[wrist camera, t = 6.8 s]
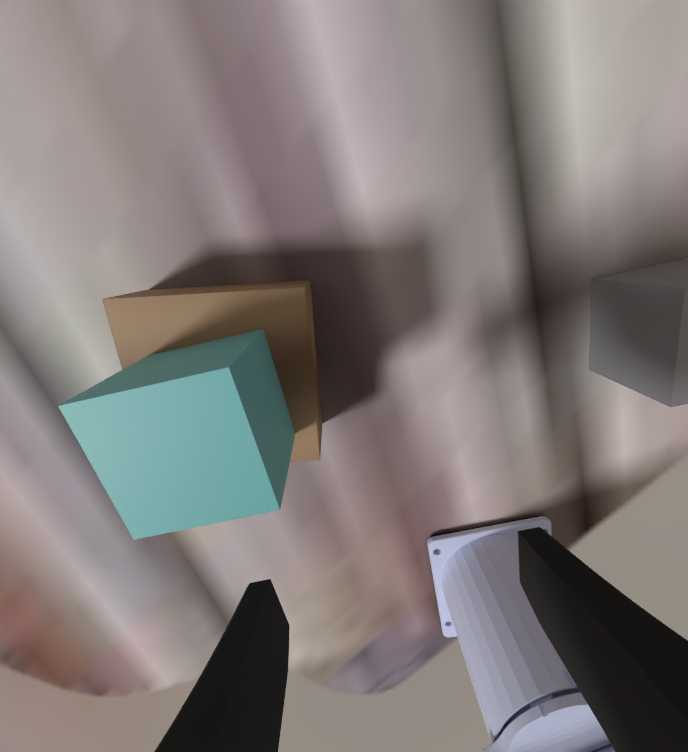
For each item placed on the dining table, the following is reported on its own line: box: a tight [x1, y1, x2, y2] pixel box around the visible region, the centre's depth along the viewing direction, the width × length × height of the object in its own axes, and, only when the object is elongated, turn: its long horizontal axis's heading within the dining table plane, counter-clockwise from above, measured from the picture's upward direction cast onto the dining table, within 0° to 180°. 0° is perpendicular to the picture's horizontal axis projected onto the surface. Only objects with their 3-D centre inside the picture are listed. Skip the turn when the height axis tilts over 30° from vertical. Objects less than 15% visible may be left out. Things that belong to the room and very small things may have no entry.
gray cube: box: [589, 257, 688, 407], centre depth 16 cm, size 5×5×5 cm
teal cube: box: [59, 329, 295, 540], centre depth 13 cm, size 5×5×5 cm
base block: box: [102, 280, 322, 462], centre depth 17 cm, size 8×8×4 cm
